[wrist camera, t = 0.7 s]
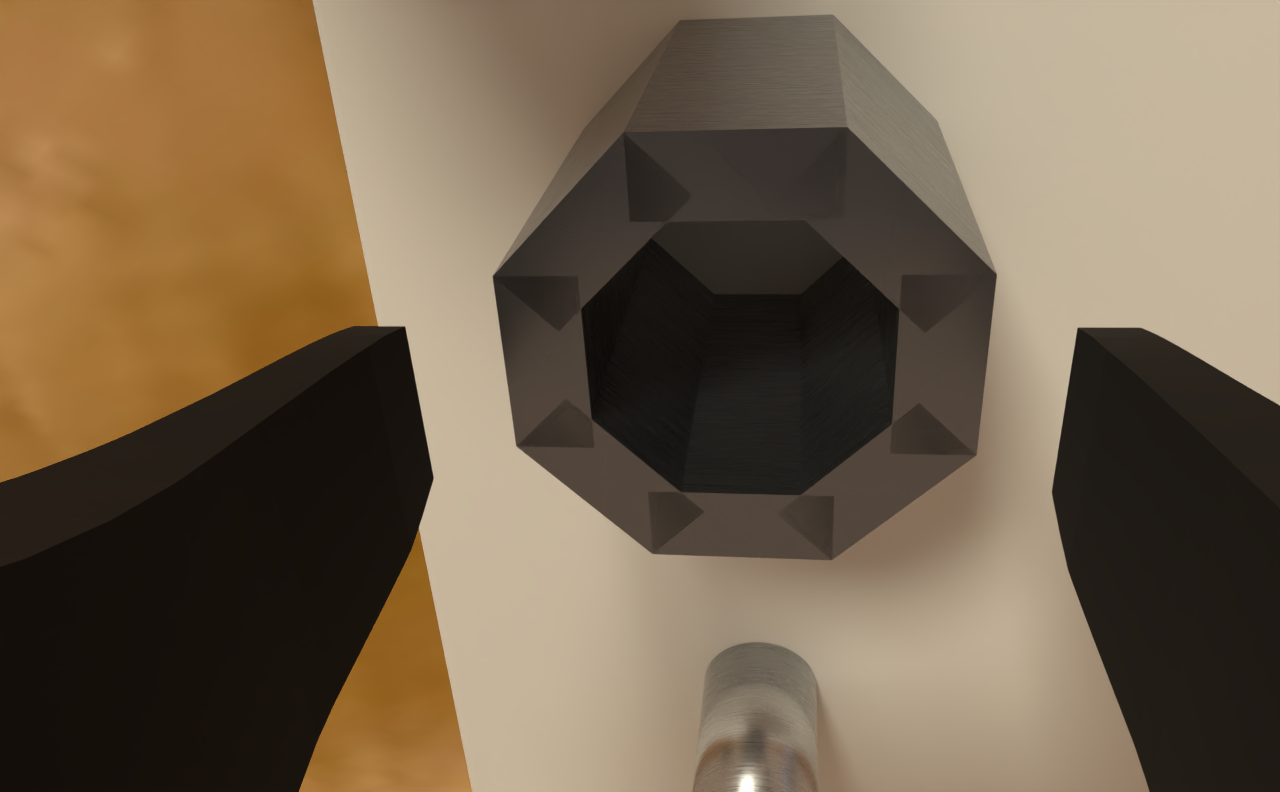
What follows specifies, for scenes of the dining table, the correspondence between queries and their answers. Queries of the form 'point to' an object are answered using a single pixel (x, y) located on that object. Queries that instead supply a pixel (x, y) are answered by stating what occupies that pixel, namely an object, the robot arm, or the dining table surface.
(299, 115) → the dining table surface
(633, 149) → the gray faceted cup
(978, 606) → the board
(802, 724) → the cylinder
